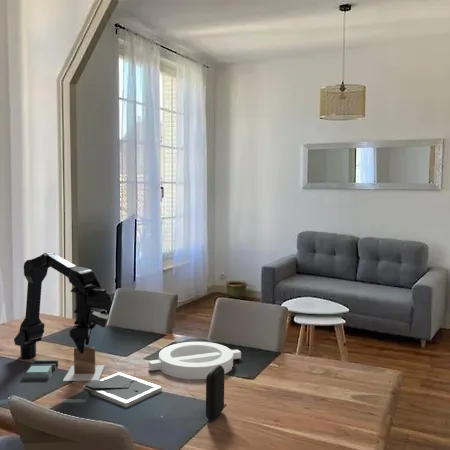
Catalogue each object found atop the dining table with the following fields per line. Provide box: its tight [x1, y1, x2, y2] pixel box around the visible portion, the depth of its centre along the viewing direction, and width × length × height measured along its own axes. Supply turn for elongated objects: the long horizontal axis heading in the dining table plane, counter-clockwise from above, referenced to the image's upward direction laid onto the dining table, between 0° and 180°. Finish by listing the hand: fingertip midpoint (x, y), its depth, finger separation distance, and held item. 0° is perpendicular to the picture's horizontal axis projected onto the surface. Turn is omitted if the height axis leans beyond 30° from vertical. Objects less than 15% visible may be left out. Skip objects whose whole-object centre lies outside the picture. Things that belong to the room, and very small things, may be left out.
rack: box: [20, 359, 59, 382], centre depth 183 cm, size 14×9×3 cm, turn 4°
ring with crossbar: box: [148, 341, 242, 380], centre depth 195 cm, size 28×28×5 cm
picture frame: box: [82, 371, 163, 408], centre depth 170 cm, size 16×3×21 cm
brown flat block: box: [73, 346, 96, 374], centre depth 183 cm, size 2×7×9 cm, turn 94°
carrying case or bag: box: [205, 365, 225, 422], centre depth 153 cm, size 11×3×15 cm, turn 159°
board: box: [62, 364, 106, 382], centre depth 183 cm, size 14×12×1 cm
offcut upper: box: [26, 366, 52, 373], centre depth 181 cm, size 6×7×1 cm
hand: (84, 348), depth 182 cm, fingers open, 9 cm apart
